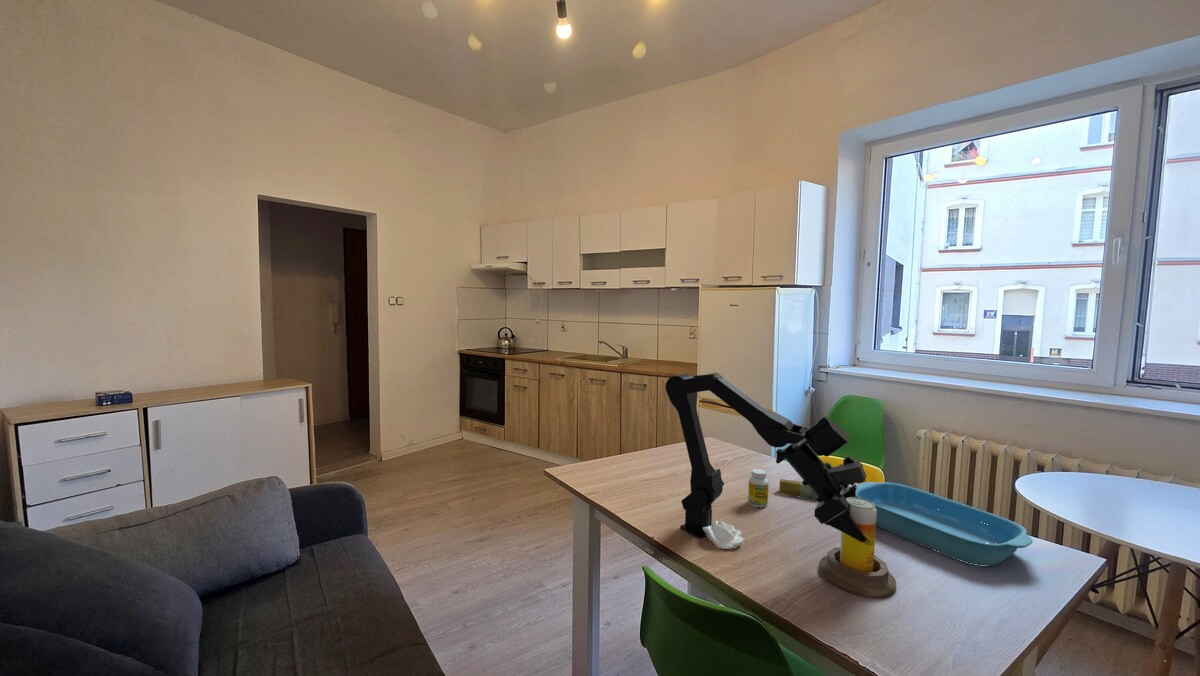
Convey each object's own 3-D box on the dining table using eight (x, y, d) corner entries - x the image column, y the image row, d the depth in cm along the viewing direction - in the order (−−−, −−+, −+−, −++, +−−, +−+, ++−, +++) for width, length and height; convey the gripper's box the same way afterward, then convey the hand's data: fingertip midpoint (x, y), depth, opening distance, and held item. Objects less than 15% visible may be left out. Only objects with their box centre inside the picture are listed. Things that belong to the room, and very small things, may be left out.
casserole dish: (1046, 559, 105) (1049, 528, 104) (1005, 587, 94) (1007, 553, 93) (880, 499, 137) (882, 475, 136) (835, 515, 126) (836, 489, 125)
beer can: (874, 584, 92) (879, 511, 91) (840, 575, 94) (844, 504, 93) (870, 568, 97) (875, 499, 96) (838, 561, 100) (842, 494, 99)
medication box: (822, 498, 137) (823, 484, 137) (822, 501, 134) (823, 487, 134) (779, 490, 142) (779, 478, 142) (778, 493, 139) (779, 480, 139)
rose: (695, 523, 109) (710, 509, 117) (694, 541, 109) (709, 525, 117) (737, 536, 103) (750, 520, 111) (736, 555, 104) (749, 538, 111)
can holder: (878, 607, 86) (880, 589, 86) (806, 572, 97) (807, 556, 97) (907, 581, 95) (908, 564, 94) (837, 552, 106) (838, 537, 105)
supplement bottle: (762, 499, 134) (763, 467, 133) (771, 507, 129) (772, 474, 128) (744, 500, 133) (745, 468, 133) (753, 508, 128) (754, 475, 127)
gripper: (836, 459, 89) (900, 530, 83) (846, 437, 104) (901, 496, 99) (790, 489, 93) (849, 559, 88) (807, 464, 109) (857, 522, 104)
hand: (866, 531), depth 94 cm, fingers open, 9 cm apart
